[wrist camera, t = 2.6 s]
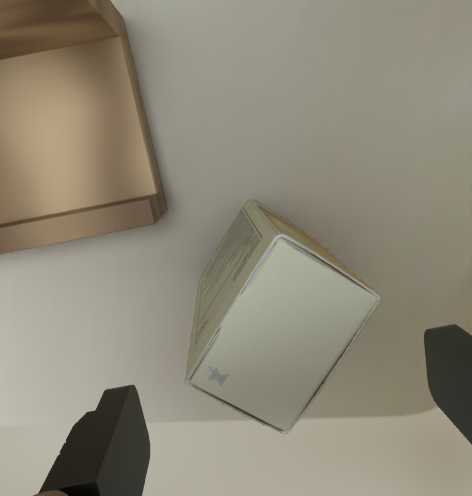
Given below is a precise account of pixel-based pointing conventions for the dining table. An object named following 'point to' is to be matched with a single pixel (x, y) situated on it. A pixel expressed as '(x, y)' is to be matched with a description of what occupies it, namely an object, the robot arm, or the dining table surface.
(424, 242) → the dining table surface
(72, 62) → the wooden holder
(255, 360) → the skincare box
